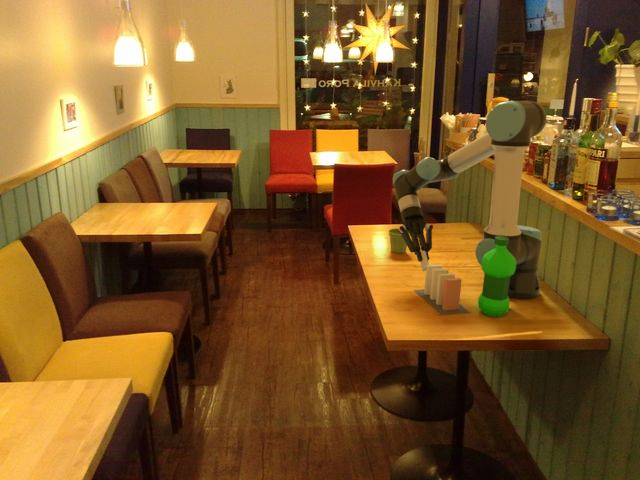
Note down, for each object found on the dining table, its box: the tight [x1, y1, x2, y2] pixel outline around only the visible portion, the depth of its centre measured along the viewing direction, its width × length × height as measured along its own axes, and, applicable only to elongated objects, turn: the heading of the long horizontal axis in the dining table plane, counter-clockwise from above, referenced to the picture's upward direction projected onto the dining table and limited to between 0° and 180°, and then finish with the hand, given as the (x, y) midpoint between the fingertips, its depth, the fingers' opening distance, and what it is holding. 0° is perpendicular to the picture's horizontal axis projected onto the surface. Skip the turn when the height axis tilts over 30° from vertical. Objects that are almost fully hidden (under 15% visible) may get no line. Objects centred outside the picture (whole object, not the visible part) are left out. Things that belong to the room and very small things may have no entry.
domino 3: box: [436, 272, 456, 305], centre depth 195 cm, size 2×5×10 cm, turn 105°
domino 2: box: [430, 268, 450, 300], centre depth 199 cm, size 2×5×10 cm, turn 105°
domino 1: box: [424, 263, 443, 295], centre depth 203 cm, size 2×5×10 cm, turn 105°
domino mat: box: [413, 288, 472, 316], centre depth 198 cm, size 22×10×1 cm, turn 15°
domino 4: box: [442, 277, 463, 310], centre depth 191 cm, size 2×5×10 cm, turn 105°
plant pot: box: [387, 228, 411, 254], centre depth 251 cm, size 9×9×9 cm
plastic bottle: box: [477, 236, 516, 317], centre depth 187 cm, size 10×10×25 cm
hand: (426, 269), depth 208 cm, fingers closed
